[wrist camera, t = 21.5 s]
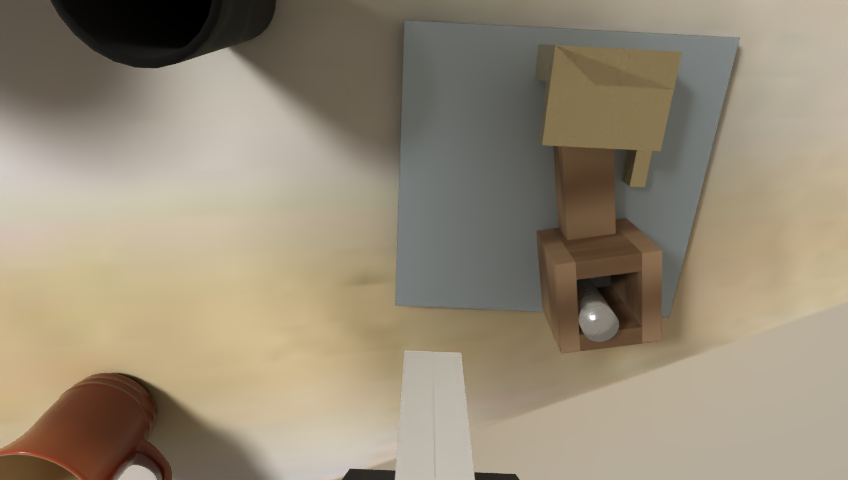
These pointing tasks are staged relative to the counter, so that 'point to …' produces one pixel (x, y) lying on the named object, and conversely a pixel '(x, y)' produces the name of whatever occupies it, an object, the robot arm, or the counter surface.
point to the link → (596, 255)
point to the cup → (163, 27)
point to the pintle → (594, 312)
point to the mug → (89, 435)
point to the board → (528, 160)
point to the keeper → (607, 100)
